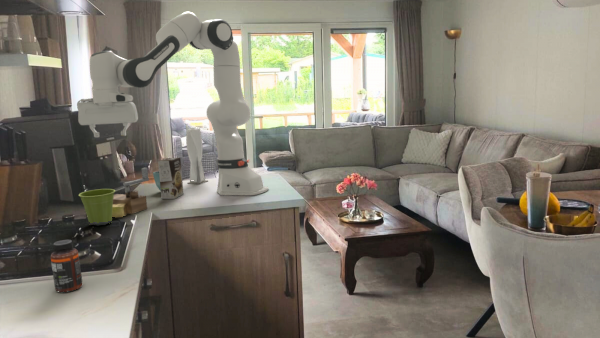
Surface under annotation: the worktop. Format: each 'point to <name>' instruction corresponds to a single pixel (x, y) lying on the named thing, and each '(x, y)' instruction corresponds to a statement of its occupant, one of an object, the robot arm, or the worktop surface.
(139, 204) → the plane body
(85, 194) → the plant pot
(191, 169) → the skyscraper
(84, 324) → the worktop surface
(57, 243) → the supplement bottle
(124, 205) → the pale yellow block
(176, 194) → the coffee box
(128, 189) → the cam lever
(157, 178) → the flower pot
